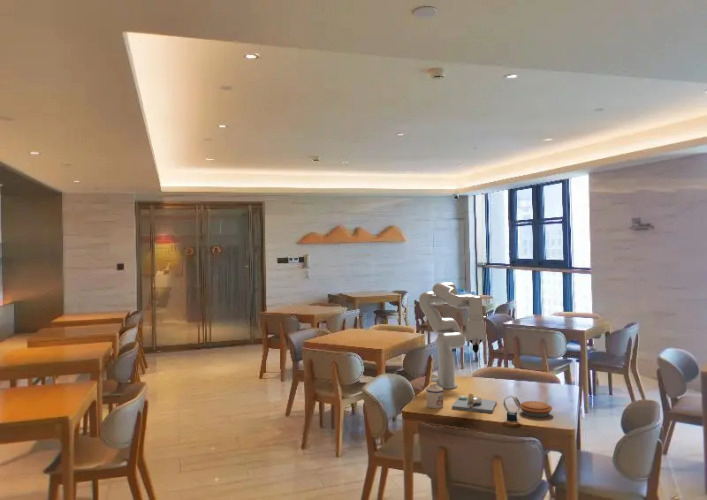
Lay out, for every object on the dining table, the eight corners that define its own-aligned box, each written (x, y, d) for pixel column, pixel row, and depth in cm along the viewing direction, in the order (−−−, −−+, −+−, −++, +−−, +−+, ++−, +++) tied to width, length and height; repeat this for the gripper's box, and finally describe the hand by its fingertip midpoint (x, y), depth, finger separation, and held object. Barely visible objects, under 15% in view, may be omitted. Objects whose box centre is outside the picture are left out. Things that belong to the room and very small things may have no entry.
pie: (555, 419, 251) (555, 409, 251) (521, 418, 253) (521, 407, 253) (548, 410, 266) (548, 400, 266) (517, 408, 268) (517, 398, 268)
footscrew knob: (469, 400, 277) (469, 388, 277) (482, 401, 274) (482, 389, 274) (463, 406, 266) (463, 394, 266) (477, 408, 263) (477, 395, 263)
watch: (520, 421, 247) (520, 398, 247) (502, 420, 250) (502, 396, 250) (521, 418, 252) (521, 395, 252) (504, 416, 255) (503, 393, 255)
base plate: (452, 408, 268) (452, 402, 268) (458, 399, 284) (458, 393, 284) (492, 413, 260) (492, 406, 260) (496, 403, 277) (496, 397, 277)
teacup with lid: (439, 409, 266) (439, 386, 266) (423, 407, 271) (423, 384, 271) (448, 404, 276) (448, 381, 277) (432, 401, 281) (432, 379, 281)
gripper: (487, 317, 293) (487, 350, 293) (460, 317, 293) (460, 350, 293) (490, 319, 285) (490, 353, 285) (463, 319, 286) (463, 353, 286)
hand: (475, 351), depth 289 cm, fingers closed
